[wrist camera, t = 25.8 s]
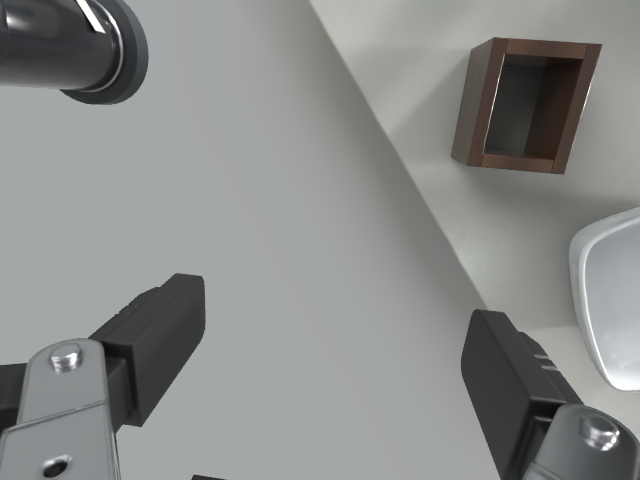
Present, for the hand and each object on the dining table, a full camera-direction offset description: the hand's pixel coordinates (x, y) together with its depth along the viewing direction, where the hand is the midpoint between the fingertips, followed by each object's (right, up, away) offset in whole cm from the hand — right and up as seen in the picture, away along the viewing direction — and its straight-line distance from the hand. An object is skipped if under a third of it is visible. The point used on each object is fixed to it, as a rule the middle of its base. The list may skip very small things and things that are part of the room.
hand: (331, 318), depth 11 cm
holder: (+19, +16, +29) cm, 38 cm away
